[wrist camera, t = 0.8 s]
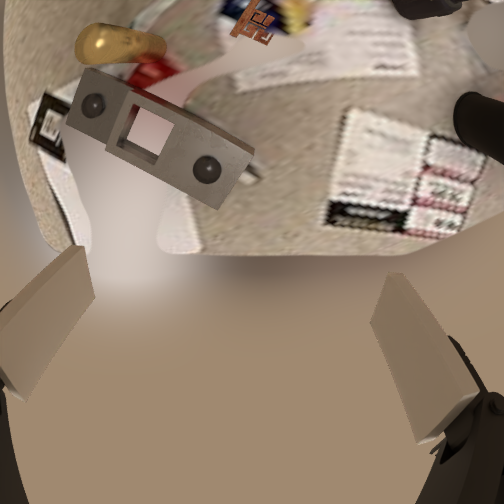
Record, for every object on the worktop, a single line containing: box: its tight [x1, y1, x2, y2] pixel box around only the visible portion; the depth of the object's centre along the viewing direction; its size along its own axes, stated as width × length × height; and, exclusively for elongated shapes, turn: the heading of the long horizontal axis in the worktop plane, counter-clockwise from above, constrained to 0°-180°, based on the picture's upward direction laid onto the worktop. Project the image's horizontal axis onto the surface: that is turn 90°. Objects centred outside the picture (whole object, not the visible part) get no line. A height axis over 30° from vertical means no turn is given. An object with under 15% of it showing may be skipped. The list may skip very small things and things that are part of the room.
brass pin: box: [75, 23, 167, 65], centre depth 19 cm, size 4×4×13 cm
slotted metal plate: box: [66, 68, 255, 210], centre depth 29 cm, size 8×24×4 cm, turn 58°
